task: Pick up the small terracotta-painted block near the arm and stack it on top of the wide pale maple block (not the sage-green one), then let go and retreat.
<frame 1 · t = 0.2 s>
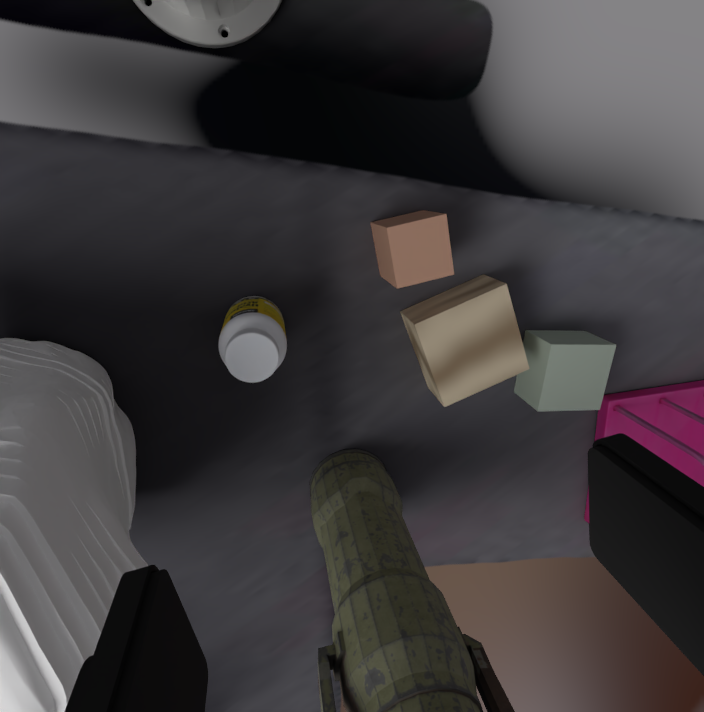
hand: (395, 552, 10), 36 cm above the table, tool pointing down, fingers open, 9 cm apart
maple block: (454, 332, 49), on the table
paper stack: (79, 419, 45), on the table
file sorter: (680, 443, 60), on the table
terracotta block: (401, 243, 45), on the table
sage block: (548, 361, 52), on the table
thermos: (349, 482, 53), on the table
supplement bottle: (254, 322, 45), on the table
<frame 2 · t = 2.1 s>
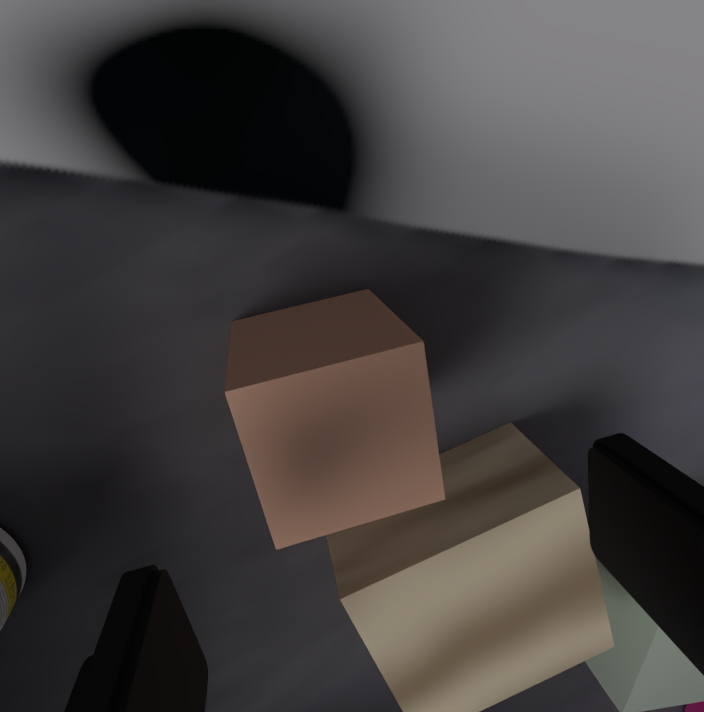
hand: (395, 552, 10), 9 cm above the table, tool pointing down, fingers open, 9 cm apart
maple block: (442, 534, 23), on the table
terracotta block: (315, 366, 18), on the table
sage block: (629, 566, 26), on the table
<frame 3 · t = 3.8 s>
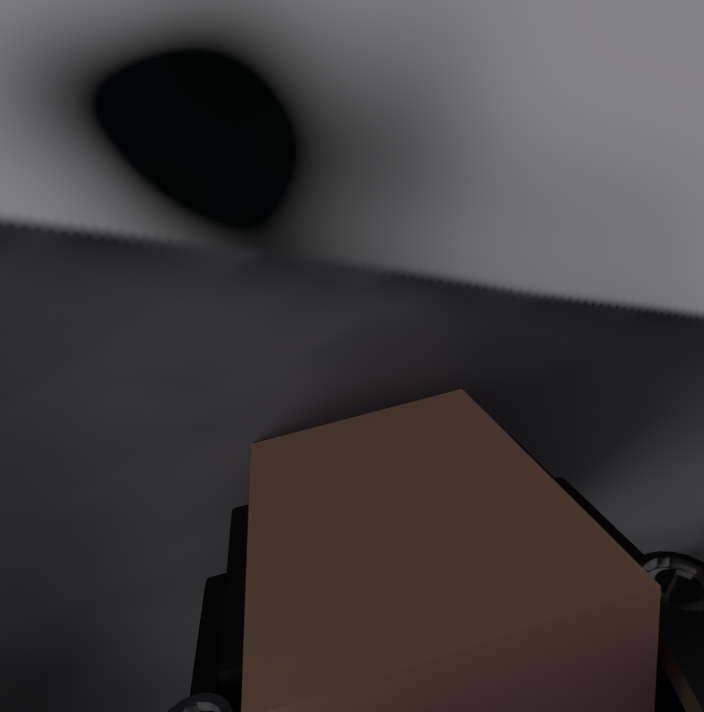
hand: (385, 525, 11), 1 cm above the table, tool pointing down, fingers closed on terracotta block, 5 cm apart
terracotta block: (377, 503, 12), on the table, touching gripper
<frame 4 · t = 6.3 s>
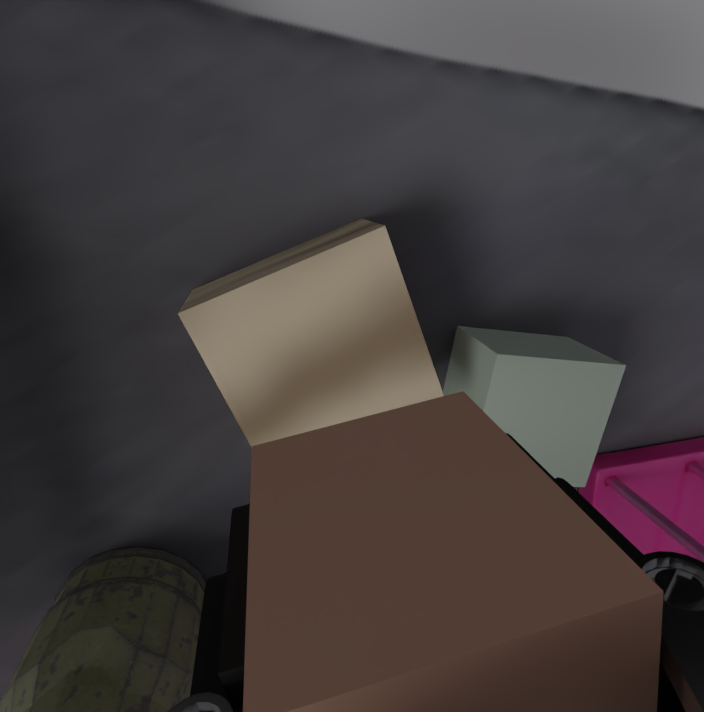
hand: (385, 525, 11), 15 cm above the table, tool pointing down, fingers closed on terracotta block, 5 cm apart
maple block: (312, 332, 26), on the table
terracotta block: (378, 506, 12), point 15 cm above the table, touching gripper
sage block: (498, 386, 29), on the table
thermos: (138, 603, 29), on the table
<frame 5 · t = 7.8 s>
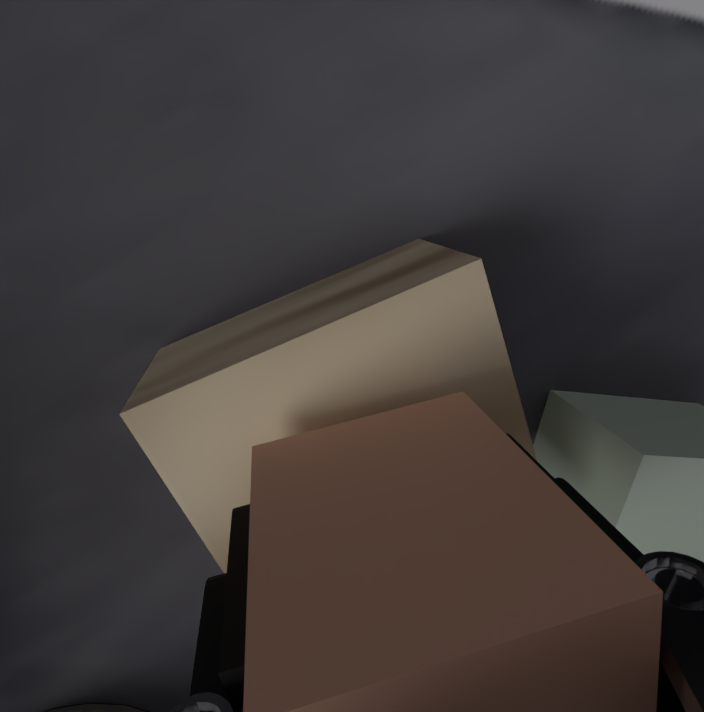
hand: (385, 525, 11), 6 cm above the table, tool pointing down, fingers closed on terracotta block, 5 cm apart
maple block: (340, 404, 17), on the table
terracotta block: (378, 506, 12), point 6 cm above the table, touching gripper
sage block: (597, 470, 20), on the table
when the fingers open (6 cm above the table, at t = 8.9 s): terracotta block stays where it is, resting on maple block.
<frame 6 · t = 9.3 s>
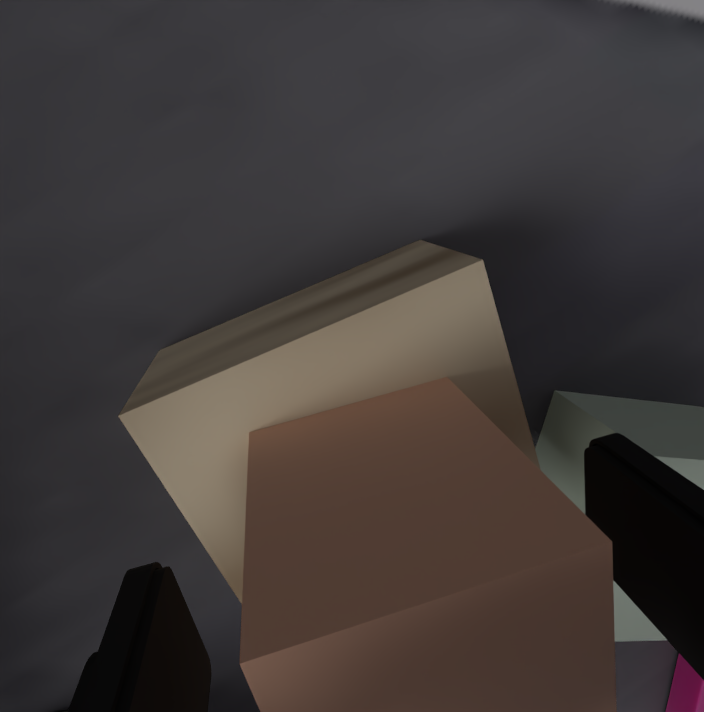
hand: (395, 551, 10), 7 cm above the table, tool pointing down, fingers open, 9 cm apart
maple block: (341, 406, 17), on the table, touching terracotta block
terracotta block: (370, 487, 13), point 5 cm above the table, touching maple block
sage block: (599, 473, 20), on the table
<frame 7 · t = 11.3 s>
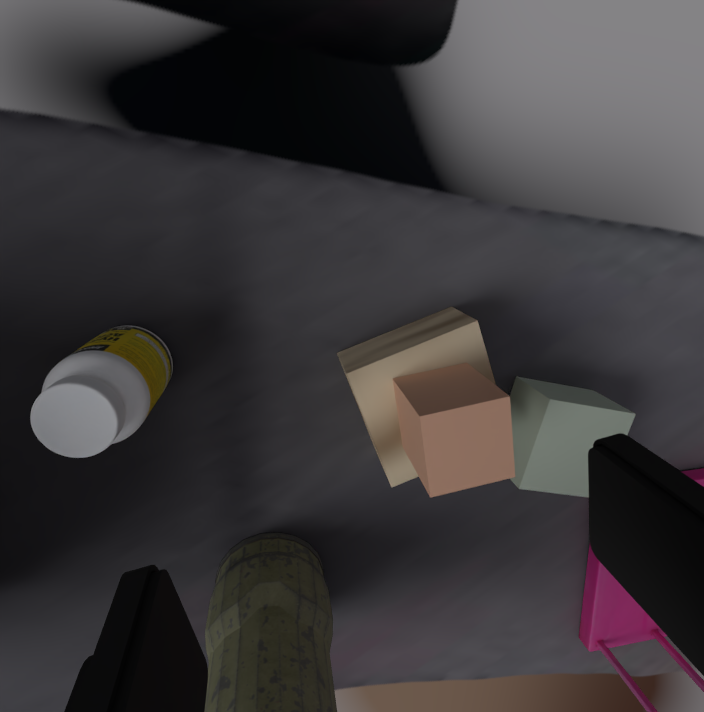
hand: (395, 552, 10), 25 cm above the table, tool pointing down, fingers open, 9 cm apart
maple block: (412, 382, 37), on the table
file sorter: (703, 542, 46), on the table
terracotta block: (434, 405, 32), point 5 cm above the table
sage block: (540, 422, 39), on the table
thermos: (271, 575, 39), on the table
supplement bottle: (132, 361, 33), on the table
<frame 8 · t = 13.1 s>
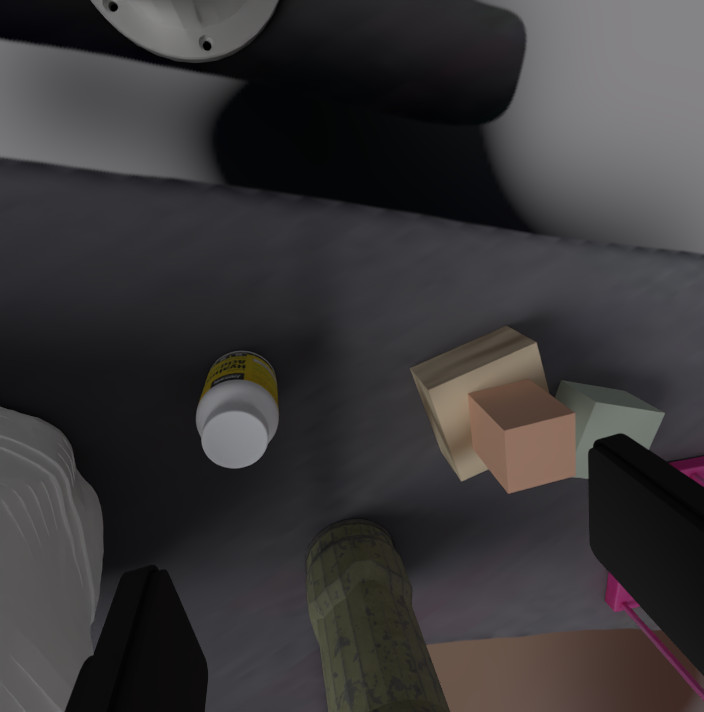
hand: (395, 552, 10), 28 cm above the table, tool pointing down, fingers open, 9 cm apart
maple block: (471, 389, 42), on the table, touching terracotta block
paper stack: (36, 491, 38), on the table
terracotta block: (500, 414, 38), point 5 cm above the table, touching maple block
sage block: (579, 418, 46), on the table
thermos: (350, 555, 46), on the table
supplement bottle: (242, 380, 38), on the table
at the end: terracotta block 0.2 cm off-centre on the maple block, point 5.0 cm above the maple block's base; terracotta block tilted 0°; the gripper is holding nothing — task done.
